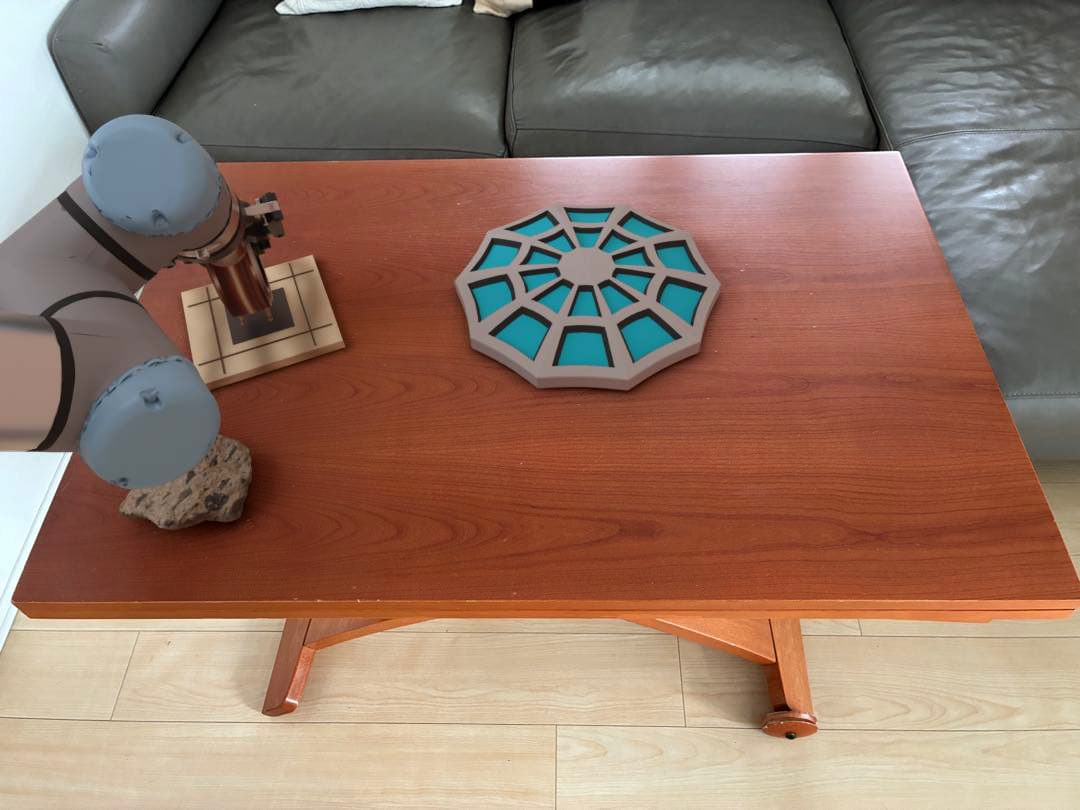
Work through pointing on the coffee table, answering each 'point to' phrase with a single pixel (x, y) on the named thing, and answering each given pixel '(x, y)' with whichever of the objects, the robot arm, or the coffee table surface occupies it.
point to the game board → (262, 327)
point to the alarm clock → (242, 282)
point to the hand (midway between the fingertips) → (232, 249)
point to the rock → (197, 490)
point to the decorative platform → (587, 296)
